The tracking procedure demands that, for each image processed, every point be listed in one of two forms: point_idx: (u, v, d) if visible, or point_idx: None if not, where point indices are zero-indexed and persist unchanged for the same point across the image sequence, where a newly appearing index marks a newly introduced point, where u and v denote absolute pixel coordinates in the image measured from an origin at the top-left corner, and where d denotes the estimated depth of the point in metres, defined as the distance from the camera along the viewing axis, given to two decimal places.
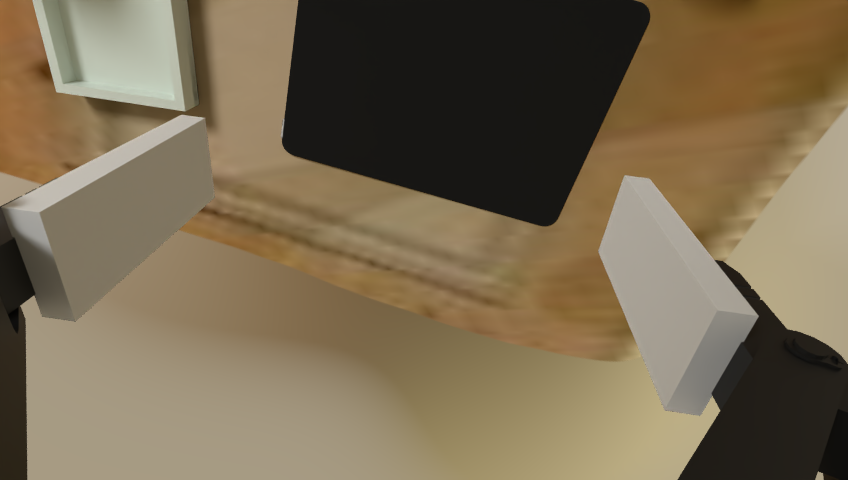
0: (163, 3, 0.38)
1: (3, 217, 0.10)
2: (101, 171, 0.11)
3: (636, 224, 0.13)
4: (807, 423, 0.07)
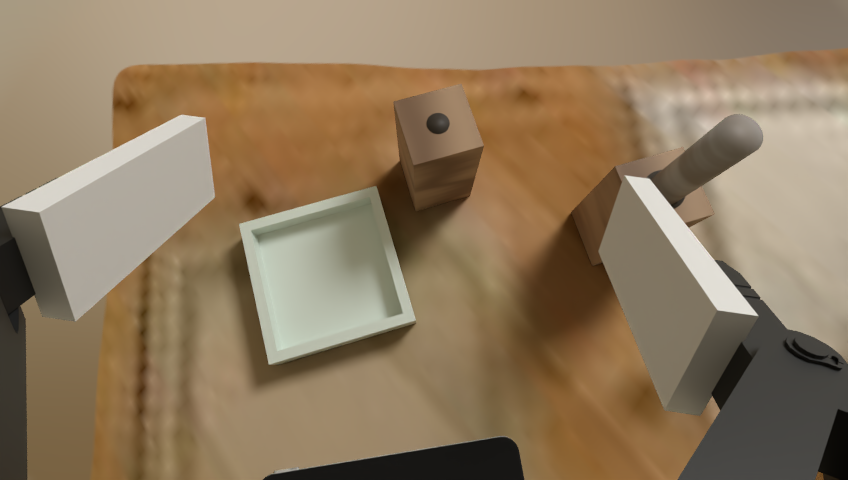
0: (374, 324, 0.37)
1: (3, 217, 0.10)
2: (101, 171, 0.11)
3: (636, 224, 0.13)
4: (807, 423, 0.07)
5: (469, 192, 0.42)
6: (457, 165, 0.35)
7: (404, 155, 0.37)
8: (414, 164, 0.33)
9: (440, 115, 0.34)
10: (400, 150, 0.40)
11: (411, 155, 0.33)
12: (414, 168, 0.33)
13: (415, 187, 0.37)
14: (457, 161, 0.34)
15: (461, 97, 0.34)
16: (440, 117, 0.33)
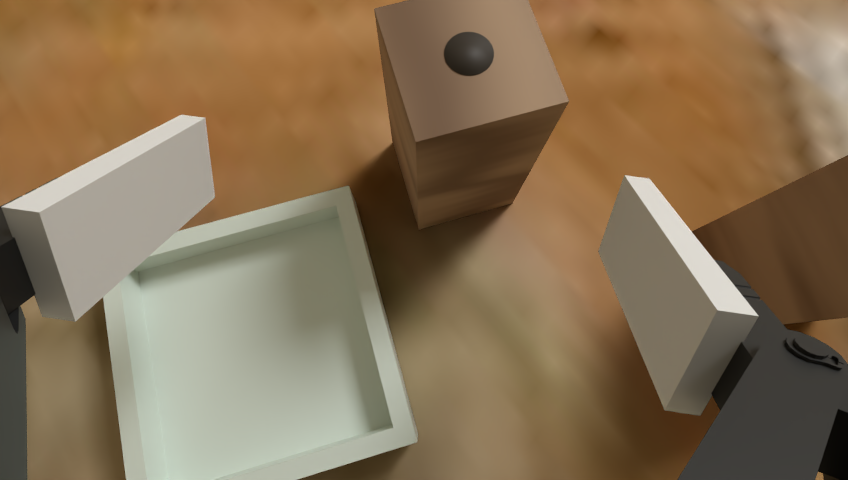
0: (338, 449, 0.20)
1: (3, 217, 0.10)
2: (101, 171, 0.11)
3: (636, 224, 0.13)
4: (807, 423, 0.07)
5: (513, 198, 0.24)
6: (505, 147, 0.17)
7: (398, 128, 0.20)
8: (417, 140, 0.15)
9: (474, 37, 0.16)
10: (392, 121, 0.22)
11: (411, 120, 0.15)
12: (417, 149, 0.15)
13: (419, 189, 0.19)
14: (508, 136, 0.16)
15: (518, 1, 0.16)
16: (473, 40, 0.16)
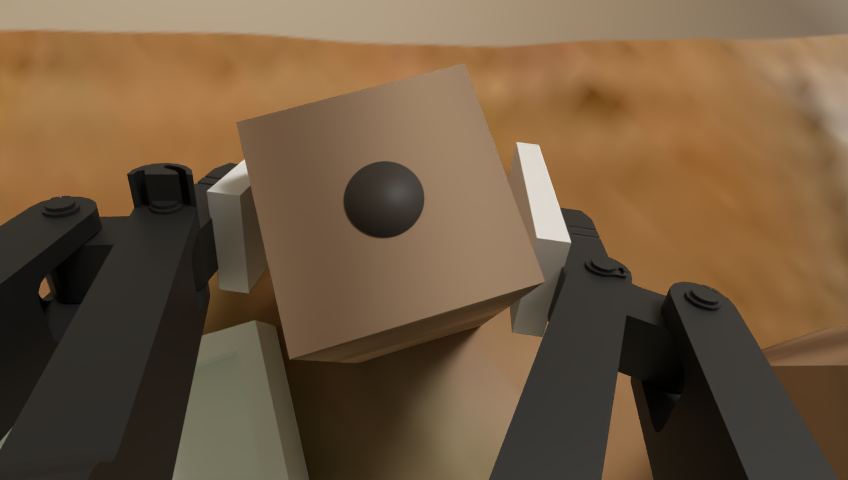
0: None
1: None
2: None
3: (516, 182, 0.15)
4: (607, 326, 0.08)
5: (480, 324, 0.18)
6: (453, 318, 0.11)
7: None
8: (293, 355, 0.09)
9: (393, 171, 0.10)
10: None
11: (284, 319, 0.09)
12: (300, 357, 0.09)
13: (333, 360, 0.13)
14: (453, 315, 0.10)
15: (465, 108, 0.10)
16: (393, 176, 0.10)
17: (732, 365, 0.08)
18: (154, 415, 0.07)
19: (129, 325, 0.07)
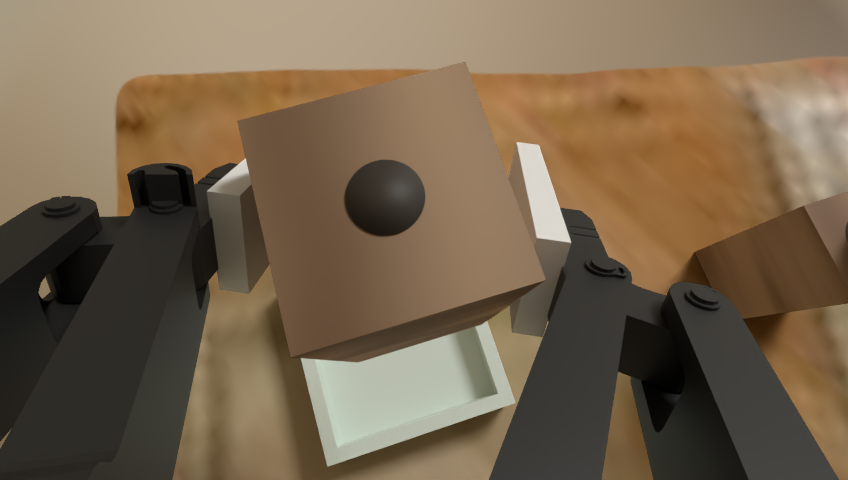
0: (461, 409, 0.29)
1: None
2: None
3: (516, 182, 0.15)
4: (607, 326, 0.08)
5: (481, 323, 0.18)
6: (453, 317, 0.11)
7: None
8: (294, 353, 0.09)
9: (394, 169, 0.10)
10: None
11: (285, 317, 0.09)
12: (301, 355, 0.09)
13: (334, 359, 0.13)
14: (453, 314, 0.10)
15: (465, 106, 0.10)
16: (394, 175, 0.10)
17: (732, 365, 0.08)
18: (154, 415, 0.07)
19: (129, 325, 0.07)
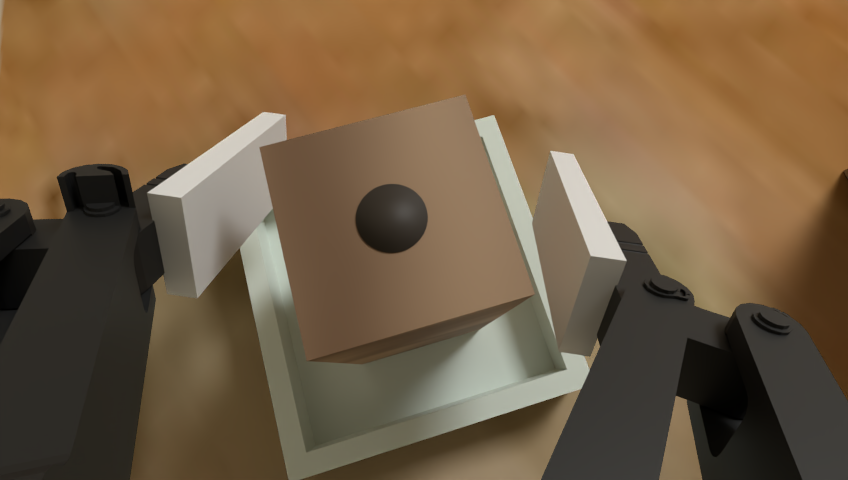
0: (508, 393, 0.18)
1: (137, 203, 0.11)
2: (217, 162, 0.12)
3: (553, 193, 0.14)
4: (666, 350, 0.08)
5: (479, 328, 0.19)
6: (452, 325, 0.12)
7: None
8: (309, 357, 0.10)
9: (400, 193, 0.11)
10: None
11: (302, 325, 0.10)
12: (315, 359, 0.11)
13: (342, 361, 0.14)
14: (452, 323, 0.12)
15: (465, 136, 0.11)
16: (399, 197, 0.11)
17: (802, 393, 0.07)
18: (105, 419, 0.07)
19: (71, 329, 0.07)
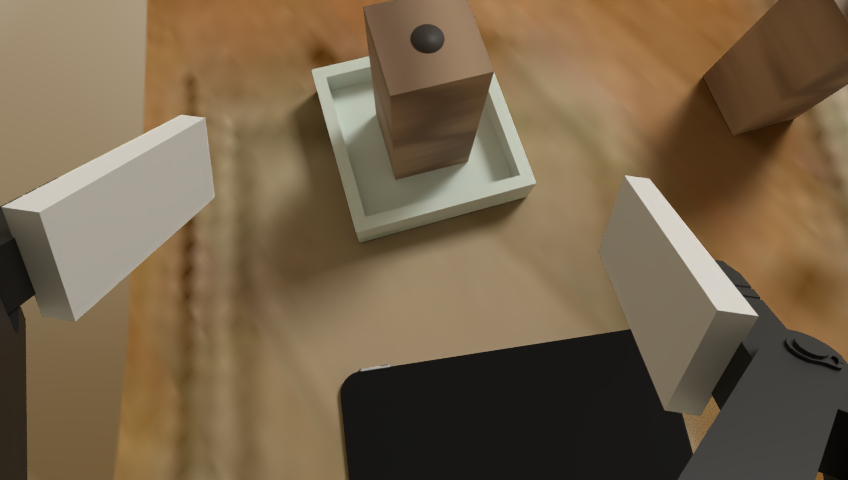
0: (485, 187, 0.30)
1: (3, 217, 0.10)
2: (101, 171, 0.11)
3: (636, 224, 0.13)
4: (807, 423, 0.07)
5: (467, 156, 0.31)
6: (454, 106, 0.25)
7: (379, 95, 0.27)
8: (391, 95, 0.22)
9: (431, 28, 0.23)
10: (375, 93, 0.29)
11: (387, 82, 0.22)
12: (391, 102, 0.23)
13: (394, 139, 0.26)
14: (455, 96, 0.24)
15: (462, 4, 0.23)
16: (431, 30, 0.23)
17: None
18: None
19: None
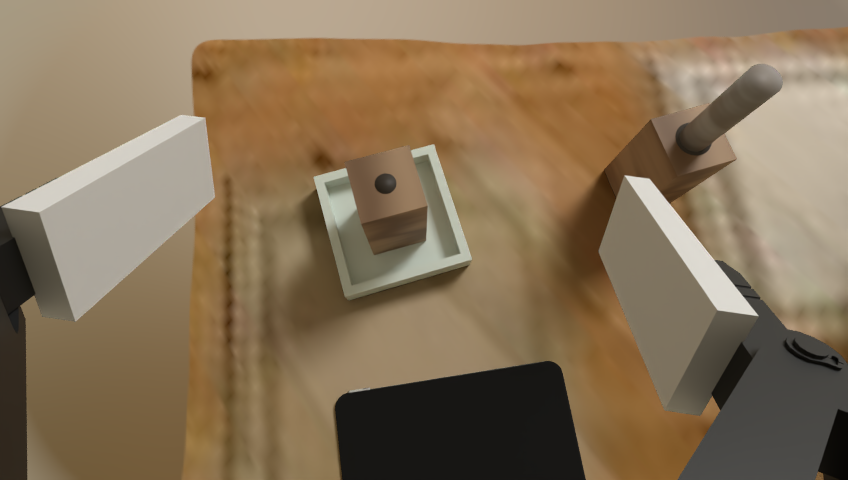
0: (435, 262, 0.43)
1: (3, 217, 0.10)
2: (101, 171, 0.11)
3: (636, 224, 0.13)
4: (807, 423, 0.07)
5: (424, 238, 0.44)
6: (406, 221, 0.37)
7: None
8: (361, 223, 0.35)
9: (388, 176, 0.36)
10: None
11: (359, 214, 0.35)
12: (362, 225, 0.35)
13: (368, 238, 0.39)
14: (405, 217, 0.36)
15: (408, 158, 0.36)
16: (388, 177, 0.36)
17: None
18: None
19: None
